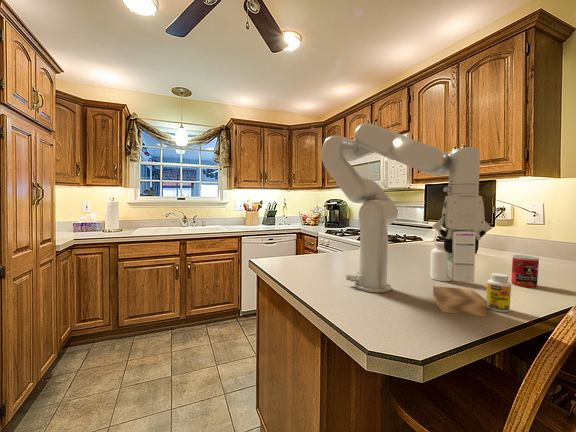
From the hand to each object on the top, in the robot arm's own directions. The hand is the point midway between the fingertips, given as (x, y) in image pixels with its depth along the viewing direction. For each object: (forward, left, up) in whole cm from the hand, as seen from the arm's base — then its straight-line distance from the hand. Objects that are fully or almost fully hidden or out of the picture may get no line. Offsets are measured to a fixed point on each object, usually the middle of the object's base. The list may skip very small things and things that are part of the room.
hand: (460, 252), depth 82 cm
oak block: (0, 0, -17) cm, 17 cm away
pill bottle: (+8, +32, -17) cm, 37 cm away
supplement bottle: (+11, 0, -17) cm, 20 cm away
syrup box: (0, 0, -8) cm, 8 cm away
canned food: (+37, +29, -17) cm, 50 cm away
